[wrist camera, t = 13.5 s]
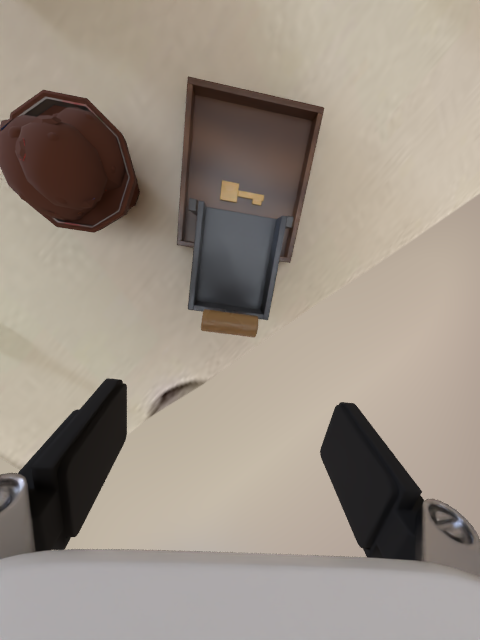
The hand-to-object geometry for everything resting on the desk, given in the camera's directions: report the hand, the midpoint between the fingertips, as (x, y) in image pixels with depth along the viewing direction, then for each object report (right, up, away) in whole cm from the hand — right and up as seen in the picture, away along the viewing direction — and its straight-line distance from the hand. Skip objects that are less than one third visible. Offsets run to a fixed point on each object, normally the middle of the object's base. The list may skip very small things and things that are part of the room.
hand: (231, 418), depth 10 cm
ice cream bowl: (-15, +21, +20) cm, 33 cm away
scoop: (0, +11, +17) cm, 20 cm away
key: (+1, +21, +20) cm, 28 cm away
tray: (+1, +22, +20) cm, 30 cm away
